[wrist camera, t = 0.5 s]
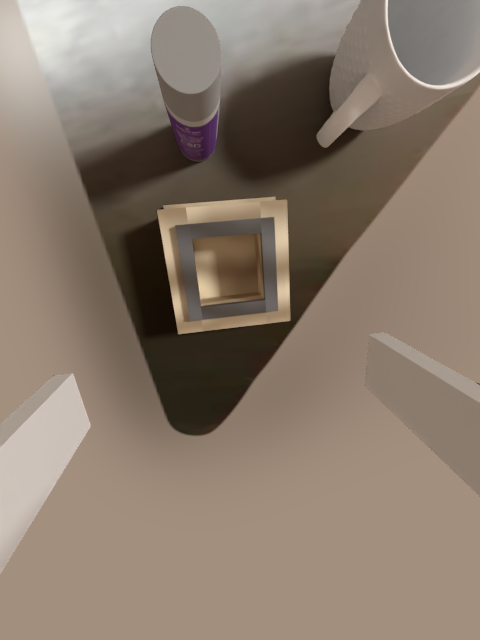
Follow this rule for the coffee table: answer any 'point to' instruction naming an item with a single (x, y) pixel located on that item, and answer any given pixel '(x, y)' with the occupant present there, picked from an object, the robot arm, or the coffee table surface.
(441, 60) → the mug
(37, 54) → the coffee table surface
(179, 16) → the container
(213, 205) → the socket
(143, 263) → the coffee table surface
